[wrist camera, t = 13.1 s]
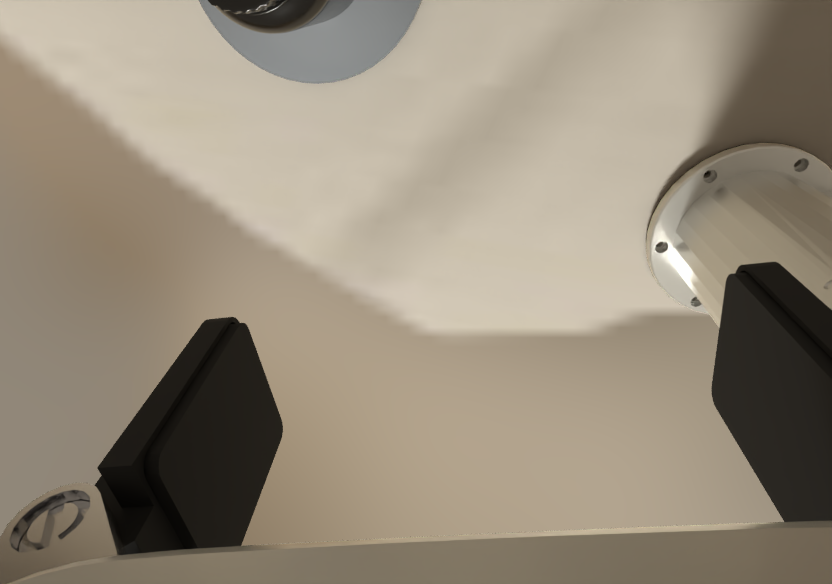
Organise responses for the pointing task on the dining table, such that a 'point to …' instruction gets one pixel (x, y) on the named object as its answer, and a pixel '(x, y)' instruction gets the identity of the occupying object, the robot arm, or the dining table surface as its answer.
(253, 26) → the supplement bottle
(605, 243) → the dining table surface
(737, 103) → the dining table surface
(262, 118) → the dining table surface
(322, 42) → the plate
